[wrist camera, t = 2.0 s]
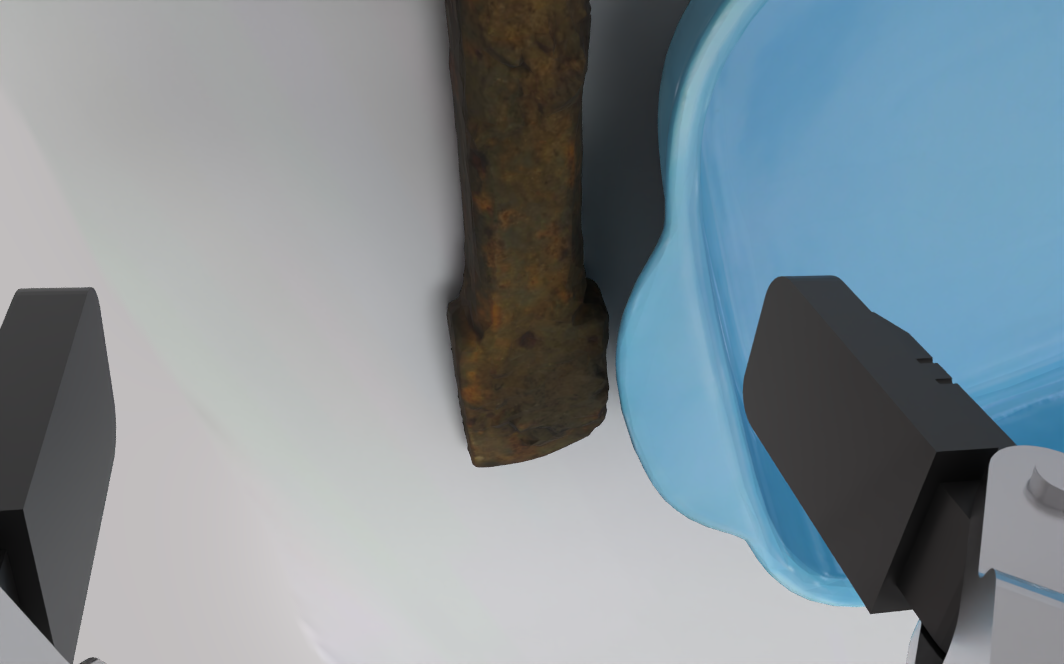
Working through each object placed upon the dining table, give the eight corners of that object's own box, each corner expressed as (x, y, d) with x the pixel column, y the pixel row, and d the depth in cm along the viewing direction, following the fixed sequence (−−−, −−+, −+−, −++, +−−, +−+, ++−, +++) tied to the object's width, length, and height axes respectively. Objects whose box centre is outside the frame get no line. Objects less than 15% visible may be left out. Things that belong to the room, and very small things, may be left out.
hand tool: (412, -214, 18) (660, -223, 19) (398, -234, 21) (610, -241, 22) (467, 531, 29) (624, 509, 29) (453, 441, 32) (594, 424, 33)
